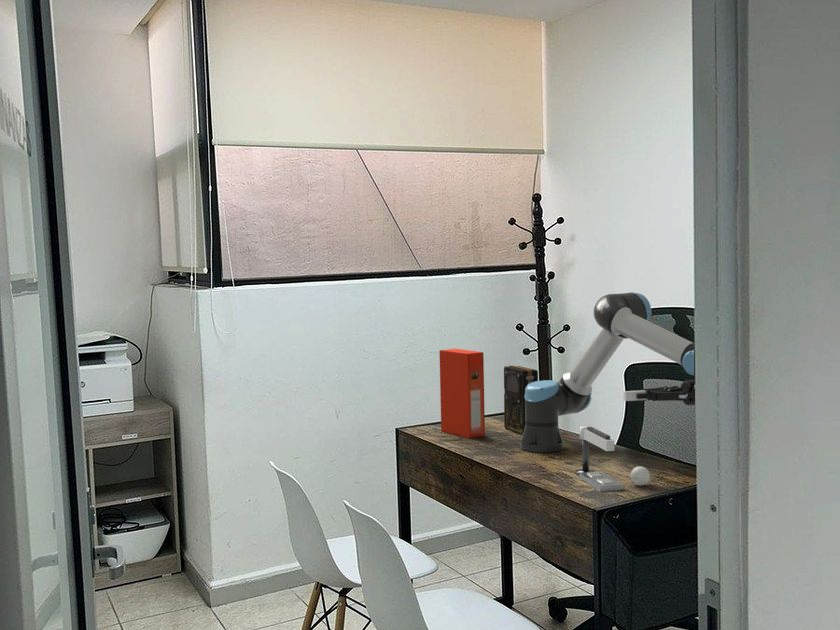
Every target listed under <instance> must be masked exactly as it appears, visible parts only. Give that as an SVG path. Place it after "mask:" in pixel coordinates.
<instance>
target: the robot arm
mask: <svg viewBox="0 0 840 630" xmlns="http://www.w3.org/2000/svg"><path fill="white" fill-rule="evenodd" d="M651 306H652V305H651V303H650V301H649V300H648V298H647V297H646V296H645V295H643V294H641V293H639V292H633V291H632V292H630V291H629V292H623V293H610V294H605V295H603V296H602V297H600V298H599V299H598V300H597V301H596V303H595V305H594V308H593V317H594V320H595V322H596V324H597V325H598V326H599V327H600V328H599V330H598V331H597V332H596V334H595V335H594V337H593V339H592V340H591V341H590V343H589V345H588V346H587V348H586V349H585V351H584V352H583V353H582V355H581V356H580V358H579V359H578V361H577V362H576V364H575V365H574V367H573V368H572V369H571V371H566V372H565V373H564V374H563V375H562V377H561V378H560V379H559V381H558V382H557V381H555V380H550V379H548V380H545V379H543V380H538V381H536V382H532V383H530V384H528V385H527V386H526V389H525V429H524V432H523V435H522V434H521V438H520V449H521V450H522V451H523V450H524V451H526V452H533V453H555V452H559V451H563V450H564V439H563V437H562V434H561V431H560V427H559V416H560V417H561V416H566V415H573V414H577V413H580V412H582V411H584V410H586V409H587V408H588V407H589V406H590V404H591V401H592V396H591V395H592V392H593V386H592V385H593V384H594V382H595V380H596V379H597V378H598V376H599V375H600V374H601V372H602V371H603V369H604V368H605V366H606V365H607V363H608V362H609V360H610V359H611V358H612V356H613V355H614V353H615V352H616V351H617V349H618V348H619V347H620V345H621V344H622V343H623V341H624V340H625V339H630V340H631V341H634V342H635V343H637V344H640V345H641V346H644V347H645V348H647V349H649V350H651V351H653V352H656V353H657V354H659V355H661V356H662V357H663V356H664V357H665V358H666V359H668V360H670V361H673V362H675V363H676V364H679V365H680V366H682V368H683V369H684V370H685V372H686V373H687V374H689V375H691V376H694V344H695V343H694V342H693V341H690V340H688V339H686V338H684V337H682V336H680V335H678V334H675V333H674V332H672V331H669V330H667V329H666V328H663V327H662V326H659V325H657V324H655V323H653V322H651V321H650V320H651V318H652V308H651ZM694 380H695V379H688V380H687V379H686V380H684V381H683V382H682V383H681V386H679V385H672V386H667V385H666V386H660V387H651V388H642V389H641V390H628V391H627V390H625V391H623V401H625V402H633V401H634V402H635V401H643V402H646V401H647V400H648V401H652V402H659V401H660V402H663V401H664V402H665V401H666V402H668V401H669V402H670V401H674V402H675V401H679V402H680V401H681V402H683V403H684V404H685V405H686V406H696V405H695V389H694Z"/></svg>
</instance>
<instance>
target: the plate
mask: <svg viewBox="0 0 840 630" xmlns="http://www.w3.org/2000/svg"><path fill="white" fill-rule="evenodd" d="M578 478H579V479H580V480H582V481H584V482H585V483H587V484H588V485H589V486H591V487H592V488H594V489H596V490H597V491H598V492H612V491H623V490H624V487H623V485H624V484H622V483H620V482H619V481H617V480H615V479H614V478H612V477H611V476H609V475H608V474H606V473H604V472H602V471H600V470H599V471H595V472H585V473H579V476H578Z"/></svg>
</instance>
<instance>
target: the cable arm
mask: <svg viewBox="0 0 840 630" xmlns="http://www.w3.org/2000/svg"><path fill="white" fill-rule="evenodd" d="M579 440H587V441H588V442H589V444H590V443H591V444H592V445H594V446H596V447H598V448H600V449H602V450H603V451H605V452H614V451H615V440H614V439H612V438H611V435H609V434H607V433H605V432H603V431H601V430H599V429H597V428H595V427H593V426H589V425H588V426H587V425H584V426H583V425H581V426H579Z"/></svg>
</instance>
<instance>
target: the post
mask: <svg viewBox="0 0 840 630" xmlns="http://www.w3.org/2000/svg"><path fill="white" fill-rule="evenodd" d="M581 440H582V439H581ZM581 442H582V443H581V445H582V446H581V450H582V451H581V453H582V455H581V458H582V460H581V464H582V466H581V467H582V468H578V469H576V470H575V475H576V476H578V477H579V473H585V472H596V470H595V469H592V468H590V442H588V441H587V440H582V441H581Z"/></svg>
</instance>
